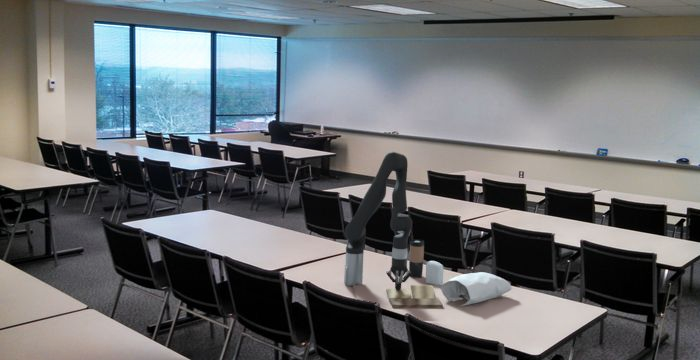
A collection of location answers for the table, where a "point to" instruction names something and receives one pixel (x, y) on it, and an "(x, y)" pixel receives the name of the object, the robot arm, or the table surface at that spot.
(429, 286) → the oak plank right
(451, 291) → the bag
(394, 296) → the oak plank left
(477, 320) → the table surface
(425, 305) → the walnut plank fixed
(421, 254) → the travel mug
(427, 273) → the photo printer
